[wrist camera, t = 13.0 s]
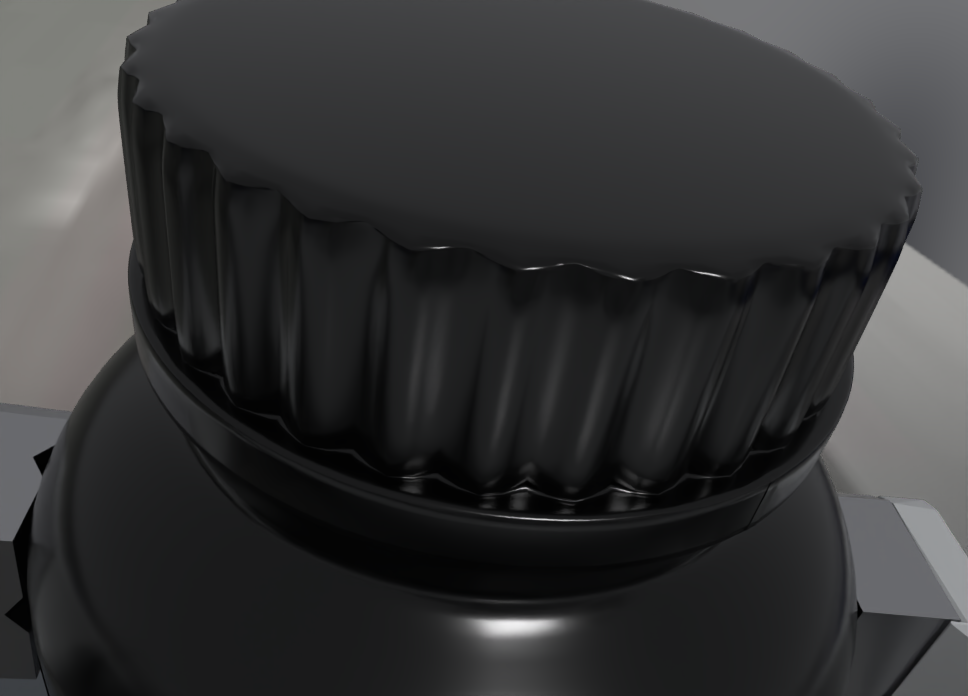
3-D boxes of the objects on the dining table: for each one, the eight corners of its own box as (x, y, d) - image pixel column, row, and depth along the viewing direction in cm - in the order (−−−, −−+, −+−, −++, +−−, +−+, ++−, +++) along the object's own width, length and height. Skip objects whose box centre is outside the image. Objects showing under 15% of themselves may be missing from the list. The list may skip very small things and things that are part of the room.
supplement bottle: (386, 607, 16) (483, -98, 9) (705, 880, 13) (1215, 142, 6) (21, 907, 12) (-345, -52, 5) (384, 1434, 9) (963, 990, 2)
